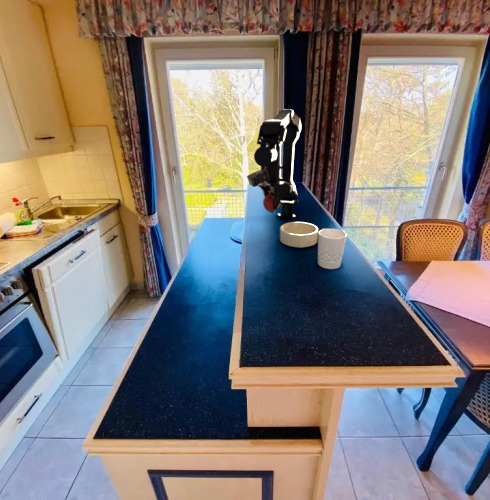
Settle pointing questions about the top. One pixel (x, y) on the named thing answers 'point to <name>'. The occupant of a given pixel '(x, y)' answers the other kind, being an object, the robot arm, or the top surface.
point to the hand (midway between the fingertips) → (271, 207)
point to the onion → (268, 203)
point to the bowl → (298, 234)
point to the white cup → (331, 248)
